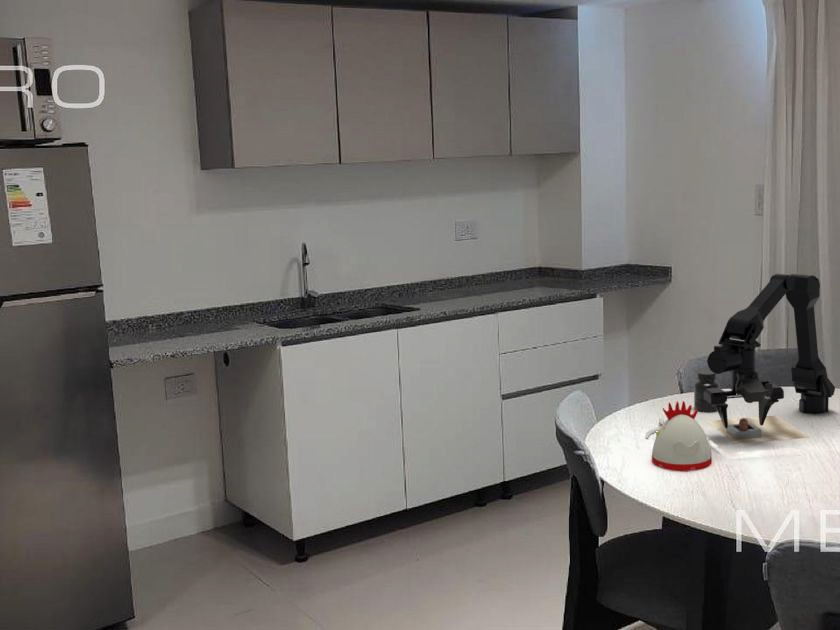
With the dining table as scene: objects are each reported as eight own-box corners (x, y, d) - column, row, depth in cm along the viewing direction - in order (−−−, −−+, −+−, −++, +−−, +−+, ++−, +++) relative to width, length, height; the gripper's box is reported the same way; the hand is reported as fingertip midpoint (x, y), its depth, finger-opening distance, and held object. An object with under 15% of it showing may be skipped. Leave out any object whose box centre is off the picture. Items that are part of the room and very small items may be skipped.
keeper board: (774, 420, 257) (774, 399, 256) (810, 442, 237) (810, 420, 236) (705, 426, 255) (705, 405, 254) (735, 449, 236) (735, 426, 235)
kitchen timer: (646, 453, 237) (645, 395, 234) (702, 451, 236) (702, 392, 234) (659, 472, 223) (657, 410, 221) (718, 469, 223) (717, 407, 220)
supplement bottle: (721, 417, 263) (720, 375, 260) (695, 417, 264) (694, 375, 262) (718, 410, 269) (718, 369, 267) (693, 411, 271) (692, 369, 268)
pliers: (645, 434, 248) (647, 418, 262) (645, 440, 248) (647, 423, 263) (684, 435, 245) (684, 418, 260) (684, 441, 246) (684, 424, 260)
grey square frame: (750, 430, 245) (750, 422, 245) (761, 437, 239) (761, 430, 238) (726, 432, 245) (726, 424, 244) (736, 439, 238) (736, 432, 238)
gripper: (719, 377, 230) (720, 439, 233) (794, 370, 231) (794, 432, 234) (702, 366, 241) (703, 426, 244) (774, 361, 242) (774, 420, 245)
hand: (743, 426), depth 241 cm, fingers open, 9 cm apart
